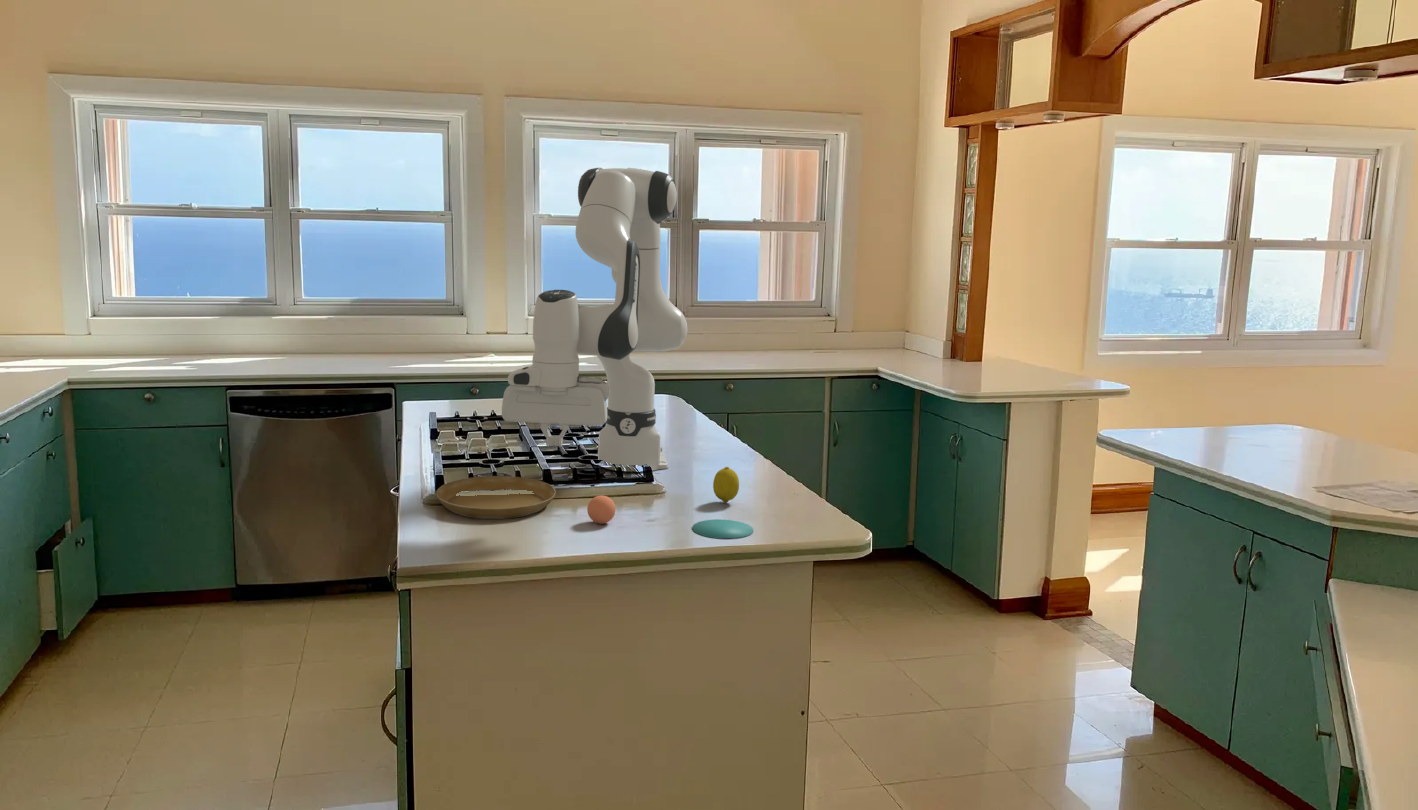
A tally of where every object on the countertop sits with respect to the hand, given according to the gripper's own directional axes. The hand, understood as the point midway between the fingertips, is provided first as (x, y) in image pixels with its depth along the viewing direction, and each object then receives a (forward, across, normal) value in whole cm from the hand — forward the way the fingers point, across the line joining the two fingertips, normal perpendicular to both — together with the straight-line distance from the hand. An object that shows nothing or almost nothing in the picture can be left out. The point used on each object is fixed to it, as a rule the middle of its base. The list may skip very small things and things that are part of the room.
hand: (554, 445), depth 199 cm
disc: (+15, -34, 0) cm, 37 cm away
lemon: (+15, -34, -19) cm, 41 cm away
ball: (+12, -10, 0) cm, 16 cm away
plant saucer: (+16, +14, -9) cm, 23 cm away
